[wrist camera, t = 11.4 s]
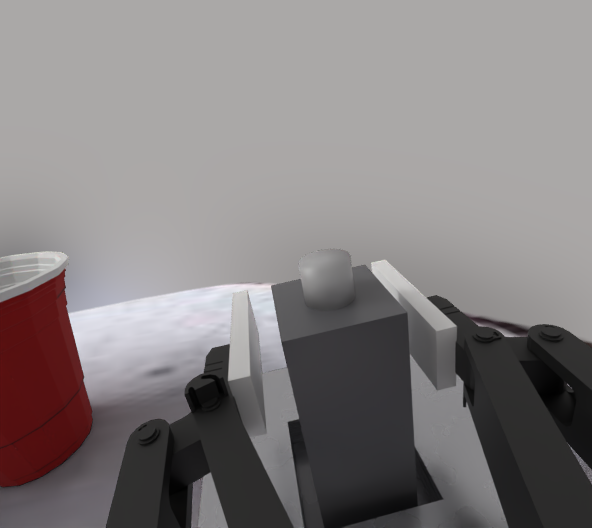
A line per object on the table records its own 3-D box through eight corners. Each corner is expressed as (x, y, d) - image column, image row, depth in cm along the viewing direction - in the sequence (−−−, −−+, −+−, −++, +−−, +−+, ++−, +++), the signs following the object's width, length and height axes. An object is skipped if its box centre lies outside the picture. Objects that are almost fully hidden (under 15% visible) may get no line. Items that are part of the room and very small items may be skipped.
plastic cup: (167, 411, 23) (95, 245, 18) (-36, 584, 15) (-248, 375, 11) (93, 366, 29) (26, 235, 25) (-76, 473, 22) (-220, 312, 17)
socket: (193, 790, 9) (163, 757, 8) (221, 408, 22) (210, 377, 21) (651, 644, 10) (673, 599, 9) (425, 358, 23) (424, 326, 22)
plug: (326, 538, 14) (271, 298, 10) (309, 454, 18) (263, 251, 13) (418, 513, 15) (405, 268, 10) (382, 435, 18) (361, 230, 14)
